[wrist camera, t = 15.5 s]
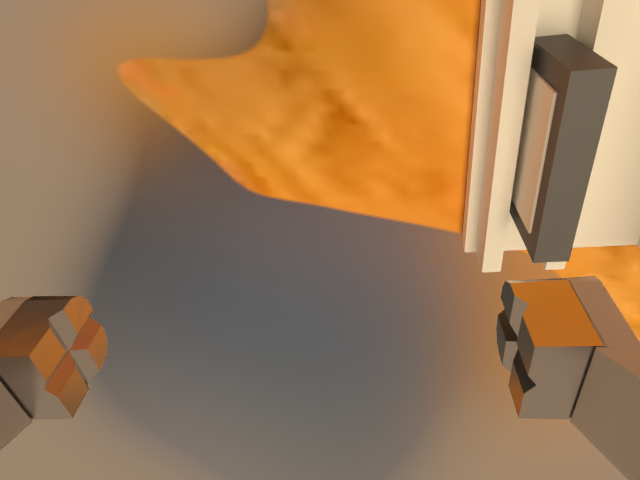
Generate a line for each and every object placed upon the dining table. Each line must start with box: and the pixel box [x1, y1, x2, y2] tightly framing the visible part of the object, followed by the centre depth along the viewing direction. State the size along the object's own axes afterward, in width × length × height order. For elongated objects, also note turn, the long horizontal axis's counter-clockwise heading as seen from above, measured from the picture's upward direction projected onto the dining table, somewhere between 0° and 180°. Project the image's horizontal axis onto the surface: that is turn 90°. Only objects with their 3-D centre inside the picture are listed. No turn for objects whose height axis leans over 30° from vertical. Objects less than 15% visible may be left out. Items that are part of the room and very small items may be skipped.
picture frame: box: [509, 34, 618, 263], centre depth 34 cm, size 14×3×8 cm, turn 6°
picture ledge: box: [462, 0, 640, 272], centre depth 31 cm, size 24×17×18 cm
